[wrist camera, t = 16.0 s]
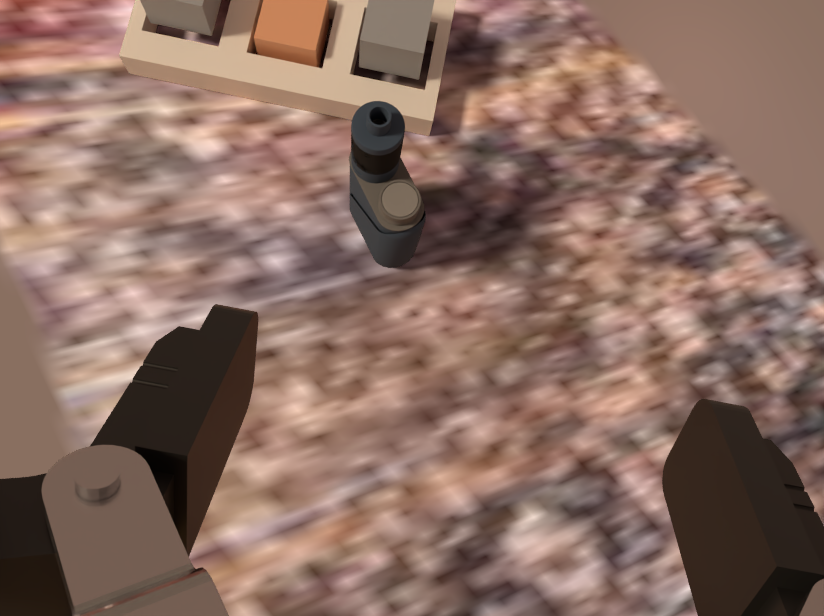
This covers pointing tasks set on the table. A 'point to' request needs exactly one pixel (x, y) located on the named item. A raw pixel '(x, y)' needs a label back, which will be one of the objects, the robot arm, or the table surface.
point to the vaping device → (383, 185)
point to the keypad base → (287, 64)
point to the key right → (395, 36)
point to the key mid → (293, 30)
